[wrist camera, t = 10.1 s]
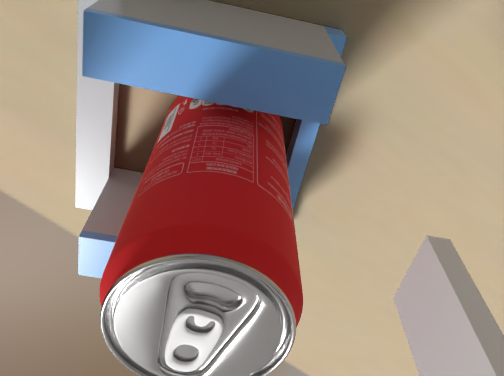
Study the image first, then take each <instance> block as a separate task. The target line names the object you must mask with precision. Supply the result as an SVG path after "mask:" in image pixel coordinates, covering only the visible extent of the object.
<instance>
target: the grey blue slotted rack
mask: <svg viewBox="0 0 504 376" xmlns="http://www.w3.org/2000/svg"><path fill="white" fill-rule="evenodd" d="M346 40H347V37H346V35H345V34H344V32H343V31H342V30H340V29H335V28H331V27H326V26H322V25H317V24H313V23H308V22H304V21H299V20H295V19H290V18H286V17H281V16H277V15H273V14H268V13H264V12H259V11H255V10H250V9H246V8H241V7H237V6H232V5H228V4H223V3H219V2H214V1H210V0H78V55H77V126H76V198H75V207H77V208H83V209H89V210H92V212H91V214H90V216H89V218H88V220H87V222H86V224H85V226H84V228H83V230H82V232H81V234H80V236H79V264H78V275H84V276H90V277H97V278H102V275H103V272H104V270H105V267H106V265H107V262H108V260H109V257H110V255H111V252H112V250H113V247H114V245H115V242H116V240H117V237H118V235H119V232H120V230H121V227H122V225H123V222H124V220H125V217H126V215H127V212H128V210H129V207H130V205H131V203H132V200H133V198H134V195H135V193H136V190H137V188H138V185H139V183H140V180H141V178H142V175H143V173H142V172H136V171H130V170H125V169H119V168H114V161H115V145H116V130H117V114H118V98H119V84H124V85H129V86H134V87H139V88H144V89H149V90H154V91H159V92H164V93H169V94H174V95H179V96H184V97H189V98H194V99H199V100H204V101H210V102H215V103H220V104H225V105H230V106H235V107H240V108H245V109H250V110H255V111H260V112H265V113H270V114H275V115H280V116H285V117H290V118H295V119H297V120H296V124H295V127H294V131H293V134H292V138H291V141H290V145H289V148H288V152H287V155H286V161H287V169H288V178H289V186H290V194H291V202H292V211H293V208H294V205H295V201H296V198H297V195H298V192H299V189H300V186H301V182H302V179H303V176H304V173H305V170H306V167H307V163H308V160H309V157H310V154H311V151H312V148H313V144H314V141H315V138H316V135H317V132H318V129H319V125H320V124H325V125H327V124H328V121H329V118H330V115H331V112H332V109H333V106H334V103H335V100H336V96H337V93H338V90H339V87H340V84H341V81H342V78H343V75H344V72H345V69H346V66H345V64H344V62H343V61H342V59H341V56H342V53H343V49H344V46H345V43H346Z"/></svg>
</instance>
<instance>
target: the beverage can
mask: <svg viewBox="0 0 504 376" xmlns="http://www.w3.org/2000/svg"><path fill="white" fill-rule="evenodd" d="M100 302H101V313H100V325H101V331H102V335H103V337H104V340H105V342H106V344H107V346H108V347H109V349H110V350H111V352H112V353H113V354H114V356H115V357H116V358H117V359H118V360H119V361H120V362H121V363H122V364H123V365H125V366H126V367H127V368H128V369H130V370H131V371H133V372H134V373H136V374H137V375H139V376H266V375H268V374H269V373H271V372H272V371H273V370H274V369H276V368H277V367H278V366H279V365H280V364H281V363H282V362H283V361H284V359H285V358H286V357H287V355H288V354H289V352H290V350H291V348H292V346H293V343H294V339H295V335H296V327H297V325H298V323H299V320H300V317H301V313H302V308H303V293H302V285H301V277H300V268H299V260H298V252H297V244H296V235H295V227H294V219H293V211H292V202H291V194H290V186H289V178H288V169H287V161H286V153H285V145H284V136H283V128H282V123H281V119H280V116H279V115H275V114H270V113H265V112H260V111H255V110H250V109H245V108H240V107H235V106H230V105H225V104H220V103H215V102H210V101H204V100H199V99H194V98H189V97H184V96H178V97H177V98H176V100H175V101H174V102H173V104H172V105H171V107H170V109H169V111H168V113H167V116H166V118H165V121H164V123H163V126H162V128H161V131H160V133H159V136H158V138H157V141H156V143H155V145H154V148H153V150H152V153H151V155H150V158H149V160H148V163H147V165H146V168H145V170H144V173H143V175H142V178H141V180H140V183H139V185H138V188H137V190H136V193H135V195H134V198H133V200H132V203H131V205H130V207H129V210H128V212H127V215H126V217H125V220H124V222H123V225H122V227H121V230H120V232H119V235H118V237H117V240H116V242H115V245H114V247H113V250H112V252H111V255H110V257H109V260H108V262H107V265H106V267H105V270H104V272H103V275H102V279H101V283H100Z"/></svg>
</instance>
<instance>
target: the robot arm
mask: <svg viewBox="0 0 504 376" xmlns="http://www.w3.org/2000/svg"><path fill="white" fill-rule="evenodd" d="M393 300H394V303H395V305H396V308H397V311H398V314H399V317H400V320H401V323H402V326H403V329H404V332H405V335H406V338H407V341H408V344H409V346H410V349H411V352H412V355H413V358H414V361H415V364H416V367H417V370H418V373H419V376H504V335H503V333H502V332H501V330H500V328H499V326H498V324H497V323H496V321H495V319H494V317H493V316H492V314H491V312H490V310H489V308H488V307H487V305H486V303H485V301H484V299H483V298H482V296H481V294H480V292H479V290H478V289H477V287H476V285H475V283H474V281H473V280H472V278H471V276H470V274H469V273H468V271H467V269H466V267H465V265H464V264H463V262H462V260H461V258H460V256H459V255H458V253H457V251H456V249H455V247H454V246H453V244H452V242H451V240H450V239H444V238H439V237H433V236H426V238H425V239H424V241H423V243H422V245H421V247H420V249H419V251H418V253H417V254H416V256H415V258H414V260H413V262H412V264H411V266H410V267H409V269H408V271H407V273H406V275H405V277H404V279H403V281H402V282H401V284H400V286H399V288H398V290H397V292H396V294H395V296H394V297H393Z"/></svg>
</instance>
